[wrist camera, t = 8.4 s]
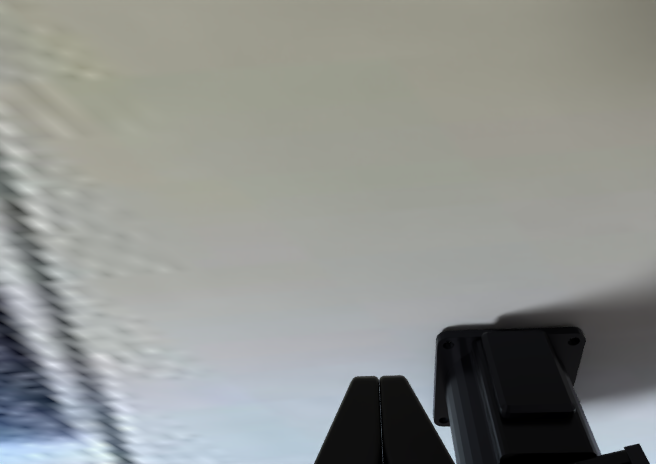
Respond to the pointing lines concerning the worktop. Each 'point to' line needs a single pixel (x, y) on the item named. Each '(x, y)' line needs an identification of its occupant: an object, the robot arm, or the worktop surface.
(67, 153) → the worktop surface
